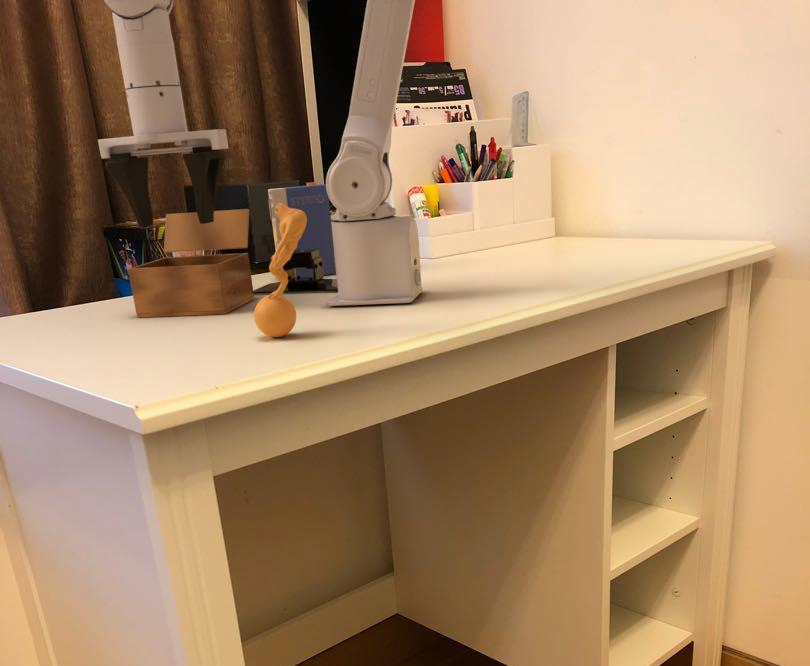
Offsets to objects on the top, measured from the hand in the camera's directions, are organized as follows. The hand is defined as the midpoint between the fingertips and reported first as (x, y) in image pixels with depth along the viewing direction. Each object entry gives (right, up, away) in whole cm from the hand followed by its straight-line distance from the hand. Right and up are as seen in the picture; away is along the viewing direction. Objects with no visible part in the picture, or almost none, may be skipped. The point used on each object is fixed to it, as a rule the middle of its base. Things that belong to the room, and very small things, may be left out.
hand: (176, 224), depth 98 cm
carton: (+1, -8, +6) cm, 10 cm away
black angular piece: (+13, -3, +14) cm, 19 cm away
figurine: (+14, -16, -14) cm, 25 cm away
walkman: (+12, +1, +24) cm, 27 cm away
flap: (+2, +2, +8) cm, 8 cm away
